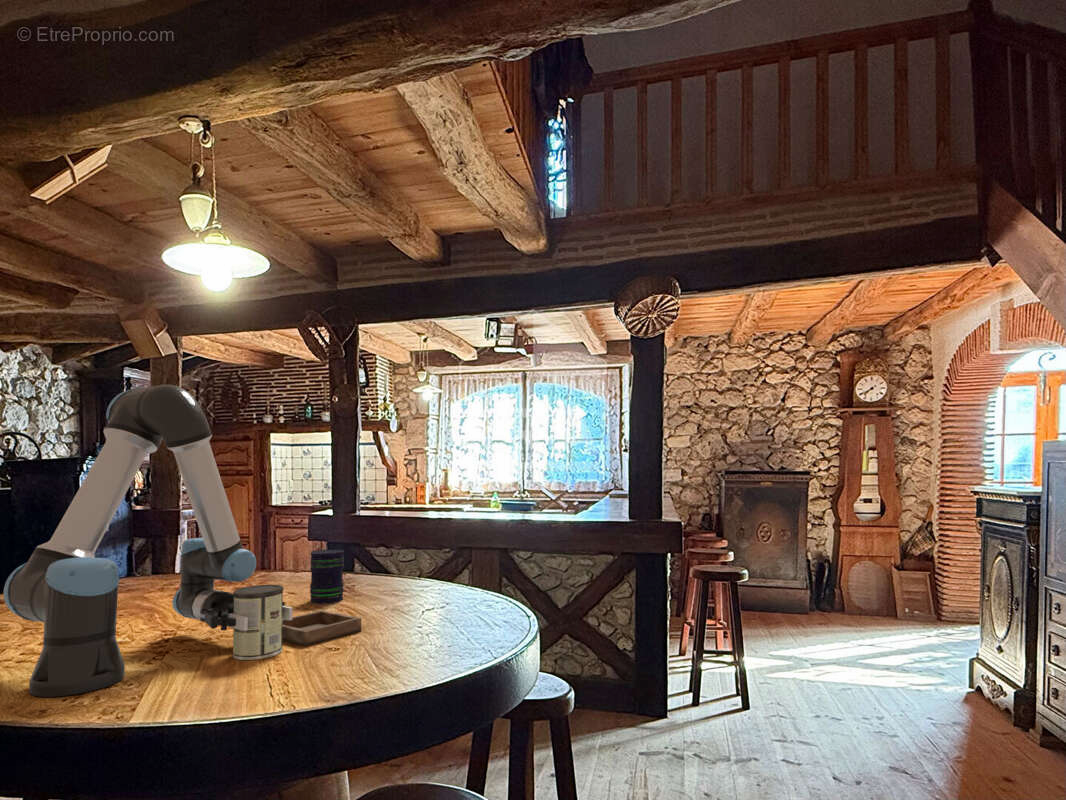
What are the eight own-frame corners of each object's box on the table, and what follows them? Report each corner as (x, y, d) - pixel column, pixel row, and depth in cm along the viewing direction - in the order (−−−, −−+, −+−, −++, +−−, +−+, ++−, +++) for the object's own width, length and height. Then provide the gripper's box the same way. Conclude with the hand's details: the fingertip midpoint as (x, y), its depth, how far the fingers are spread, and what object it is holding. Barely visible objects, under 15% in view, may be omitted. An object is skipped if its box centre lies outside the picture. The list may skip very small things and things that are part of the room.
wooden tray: (361, 631, 161) (361, 618, 162) (305, 646, 149) (305, 632, 149) (322, 622, 171) (322, 610, 171) (266, 636, 158) (266, 623, 158)
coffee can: (243, 647, 149) (244, 584, 150) (288, 646, 149) (290, 583, 150) (223, 661, 138) (225, 593, 140) (272, 660, 139) (273, 592, 140)
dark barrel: (315, 605, 192) (316, 554, 194) (305, 600, 200) (306, 551, 201) (348, 601, 198) (348, 551, 199) (337, 596, 206) (337, 548, 207)
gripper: (260, 613, 164) (313, 625, 151) (166, 633, 146) (217, 649, 132) (261, 583, 164) (314, 592, 151) (168, 599, 146) (218, 611, 133)
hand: (269, 618), depth 142 cm, fingers closed on coffee can, 10 cm apart
